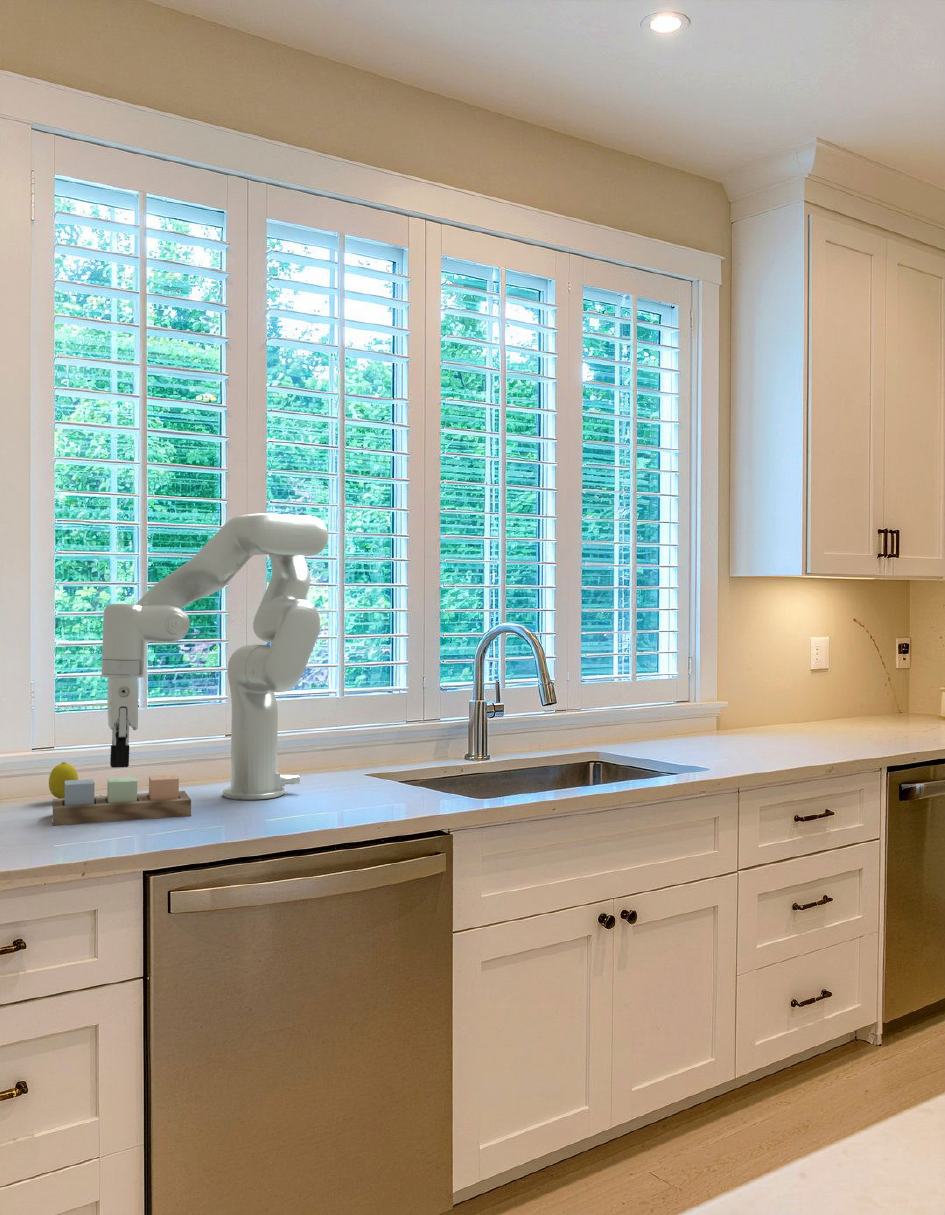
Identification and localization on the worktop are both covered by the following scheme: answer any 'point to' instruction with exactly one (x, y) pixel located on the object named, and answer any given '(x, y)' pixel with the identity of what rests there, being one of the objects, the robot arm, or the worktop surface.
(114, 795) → the button sage
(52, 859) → the worktop surface
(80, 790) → the button slate
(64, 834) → the worktop surface
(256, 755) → the robot arm
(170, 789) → the button terracotta
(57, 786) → the lemon
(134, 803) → the button board
